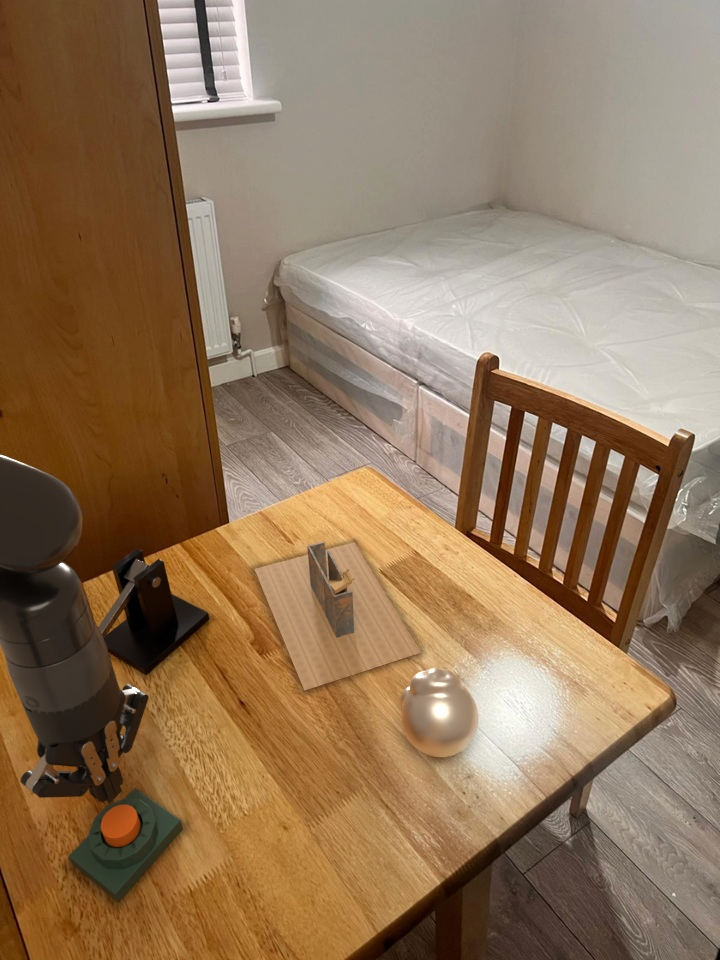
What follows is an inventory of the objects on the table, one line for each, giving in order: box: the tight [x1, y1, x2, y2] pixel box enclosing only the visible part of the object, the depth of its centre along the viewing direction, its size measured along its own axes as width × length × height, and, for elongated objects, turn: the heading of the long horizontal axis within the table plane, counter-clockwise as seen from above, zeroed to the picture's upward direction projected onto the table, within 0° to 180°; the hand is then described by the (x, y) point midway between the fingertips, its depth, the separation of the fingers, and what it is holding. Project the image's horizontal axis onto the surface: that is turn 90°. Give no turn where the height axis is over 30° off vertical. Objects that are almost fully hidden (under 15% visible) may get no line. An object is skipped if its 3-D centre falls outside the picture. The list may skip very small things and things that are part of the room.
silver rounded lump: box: [399, 667, 479, 758], centre depth 84 cm, size 9×10×10 cm
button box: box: [68, 787, 184, 903], centre depth 76 cm, size 9×7×4 cm
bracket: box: [104, 547, 210, 677], centre depth 98 cm, size 12×9×13 cm
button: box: [101, 805, 140, 847], centre depth 74 cm, size 4×4×2 cm
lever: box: [97, 559, 150, 638], centre depth 93 cm, size 16×3×3 cm, turn 148°
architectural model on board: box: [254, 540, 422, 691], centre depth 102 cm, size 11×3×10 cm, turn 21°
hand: (109, 793), depth 71 cm, fingers closed
